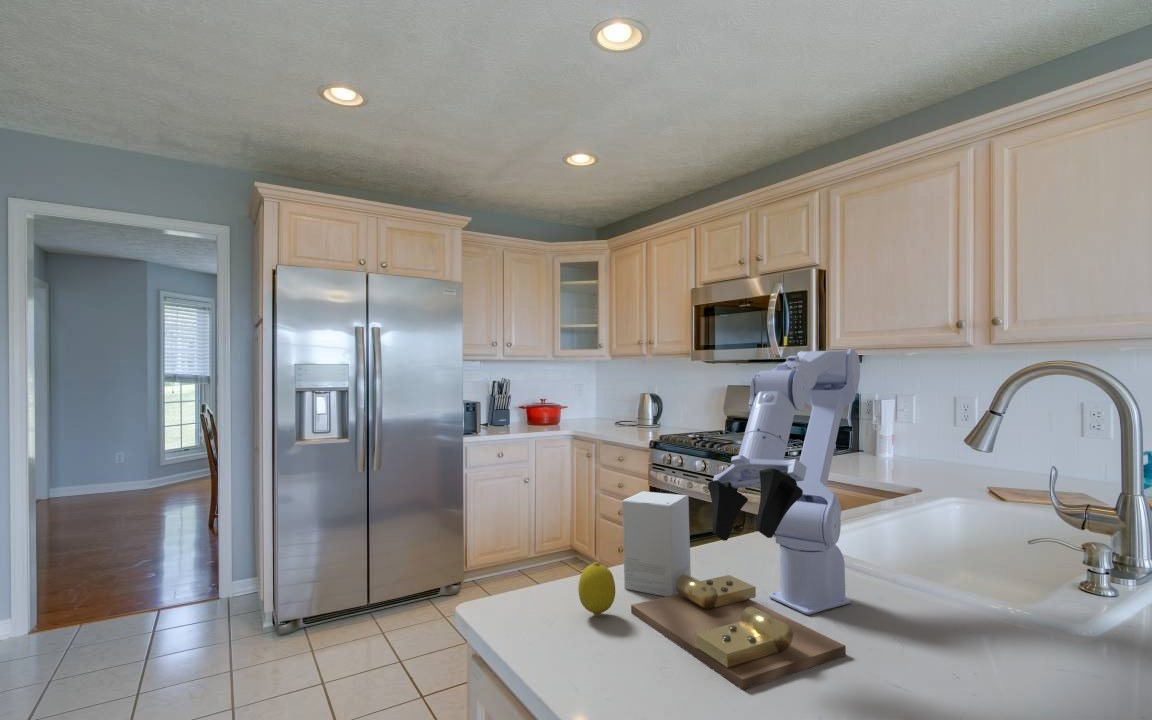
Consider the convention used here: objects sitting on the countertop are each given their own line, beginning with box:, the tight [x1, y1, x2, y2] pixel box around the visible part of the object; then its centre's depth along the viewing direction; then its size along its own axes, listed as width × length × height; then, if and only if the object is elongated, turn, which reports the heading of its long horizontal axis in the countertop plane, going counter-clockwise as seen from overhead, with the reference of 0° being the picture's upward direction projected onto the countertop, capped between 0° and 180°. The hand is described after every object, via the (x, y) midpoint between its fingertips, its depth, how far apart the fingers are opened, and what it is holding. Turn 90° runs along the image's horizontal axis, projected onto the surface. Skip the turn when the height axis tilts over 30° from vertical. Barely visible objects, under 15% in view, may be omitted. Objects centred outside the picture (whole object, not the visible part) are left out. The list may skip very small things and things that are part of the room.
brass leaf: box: [695, 607, 793, 668], centre depth 73 cm, size 11×6×3 cm, turn 116°
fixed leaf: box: [676, 574, 757, 609], centre depth 89 cm, size 11×7×3 cm
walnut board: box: [630, 593, 847, 691], centre depth 80 cm, size 17×24×1 cm
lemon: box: [577, 561, 616, 617], centre depth 86 cm, size 6×6×8 cm
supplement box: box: [621, 490, 692, 597], centre depth 98 cm, size 9×9×15 cm
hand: (740, 535), depth 71 cm, fingers open, 7 cm apart
